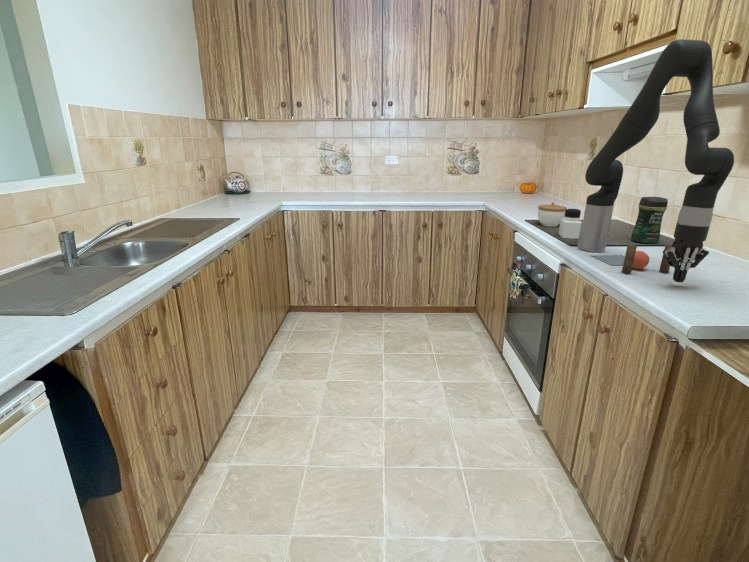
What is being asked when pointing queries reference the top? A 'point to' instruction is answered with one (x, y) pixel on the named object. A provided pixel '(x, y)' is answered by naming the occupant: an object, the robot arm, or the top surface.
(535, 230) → the top surface
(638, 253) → the ball
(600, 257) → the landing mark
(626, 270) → the post
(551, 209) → the white lidded pot
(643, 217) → the coffee jar
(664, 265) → the post
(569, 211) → the medicine bottle
